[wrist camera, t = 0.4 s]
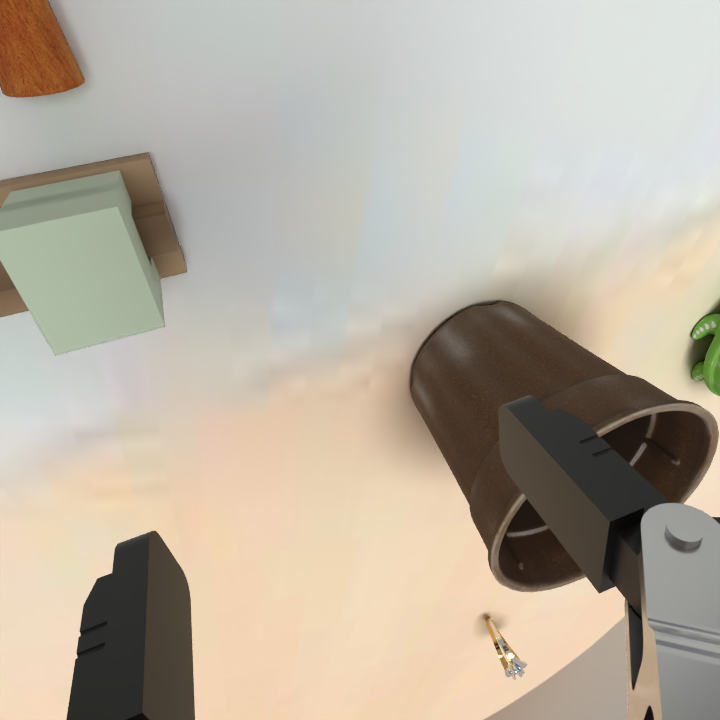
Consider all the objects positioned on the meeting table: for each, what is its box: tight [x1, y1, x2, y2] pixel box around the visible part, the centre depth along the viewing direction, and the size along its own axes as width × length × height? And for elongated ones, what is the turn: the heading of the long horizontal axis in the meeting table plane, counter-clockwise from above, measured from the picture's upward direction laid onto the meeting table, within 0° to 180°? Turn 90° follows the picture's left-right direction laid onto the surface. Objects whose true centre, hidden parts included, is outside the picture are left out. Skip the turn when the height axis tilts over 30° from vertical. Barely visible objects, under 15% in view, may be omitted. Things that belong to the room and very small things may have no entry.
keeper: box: [0, 170, 165, 355], centre depth 25 cm, size 6×5×6 cm
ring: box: [485, 617, 527, 680], centre depth 71 cm, size 7×3×8 cm, turn 23°
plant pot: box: [411, 301, 719, 592], centre depth 38 cm, size 16×16×16 cm
